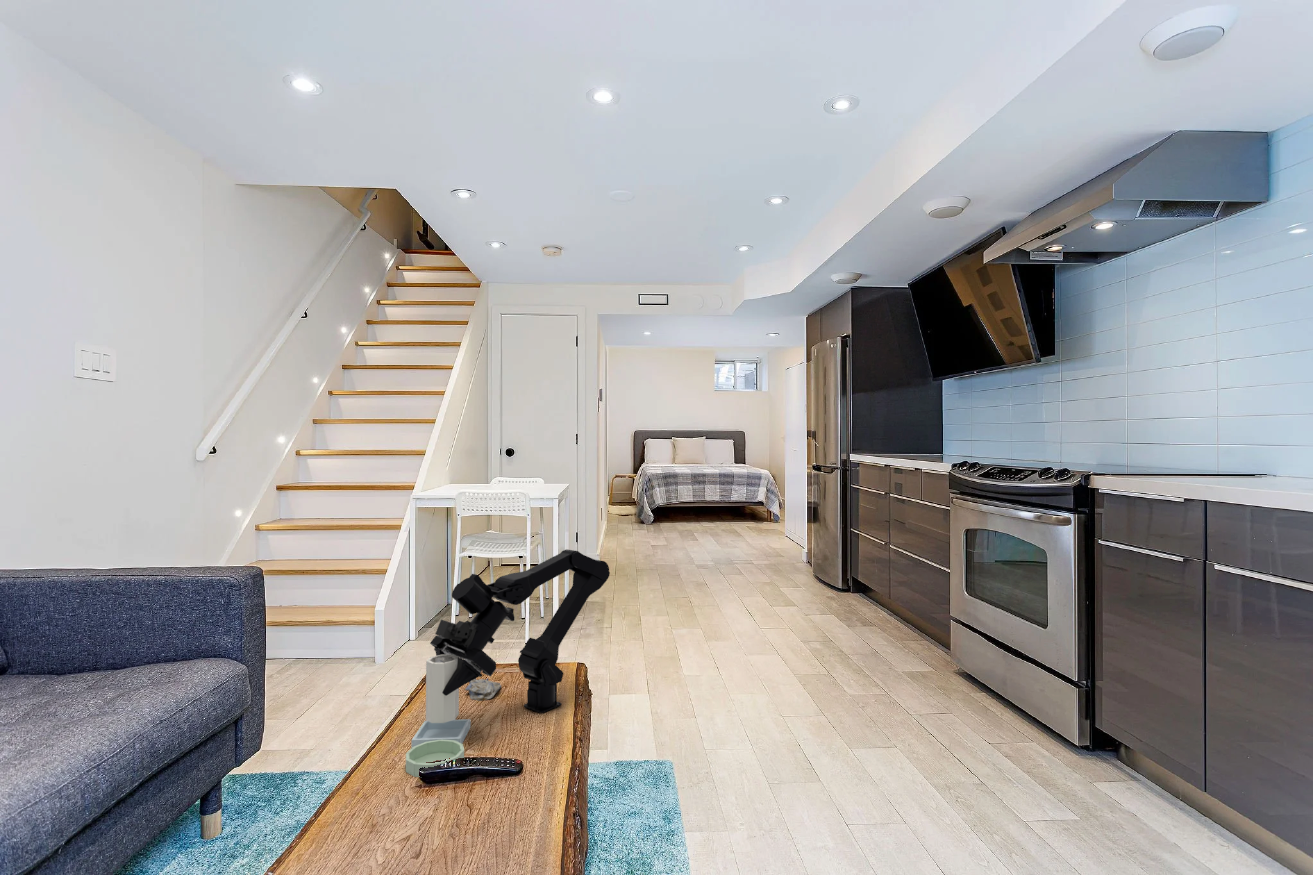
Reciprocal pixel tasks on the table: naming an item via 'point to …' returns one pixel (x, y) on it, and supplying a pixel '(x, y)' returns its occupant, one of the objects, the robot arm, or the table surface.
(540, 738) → the table surface
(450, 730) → the parts tray
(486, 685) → the mineral specimen
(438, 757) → the bowl
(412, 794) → the table surface
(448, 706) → the pebble cup
